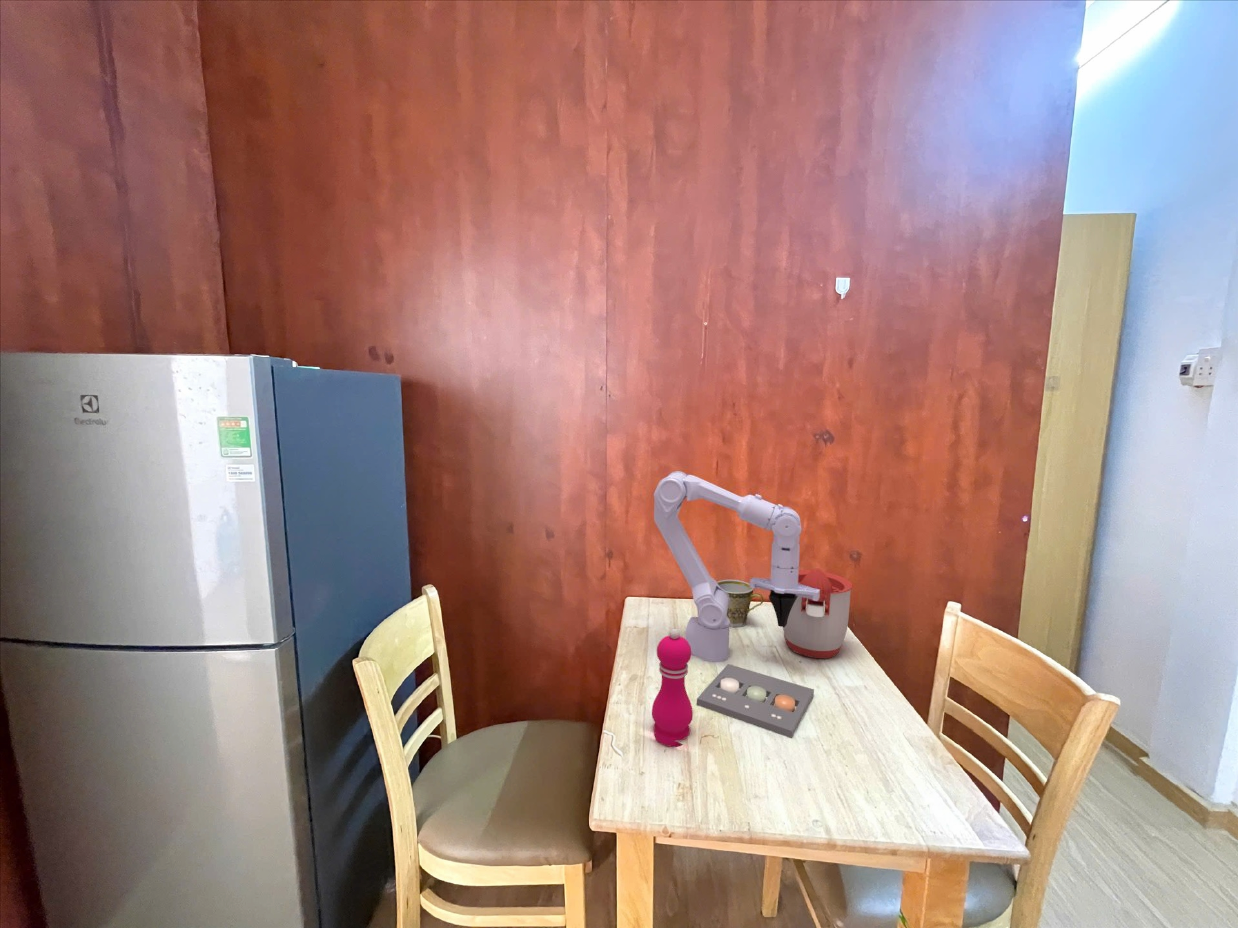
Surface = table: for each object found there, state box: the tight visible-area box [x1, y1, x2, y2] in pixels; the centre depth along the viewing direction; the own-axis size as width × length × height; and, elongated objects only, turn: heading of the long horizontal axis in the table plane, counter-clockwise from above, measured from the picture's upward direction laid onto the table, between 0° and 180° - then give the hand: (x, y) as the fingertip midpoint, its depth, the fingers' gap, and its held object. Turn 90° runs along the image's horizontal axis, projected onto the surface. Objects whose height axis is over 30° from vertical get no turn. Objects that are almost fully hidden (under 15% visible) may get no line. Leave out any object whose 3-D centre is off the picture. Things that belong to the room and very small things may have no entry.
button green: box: [746, 686, 767, 703], centre depth 106 cm, size 4×4×3 cm
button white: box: [720, 678, 740, 694], centre depth 109 cm, size 4×4×3 cm
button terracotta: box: [774, 695, 796, 712], centre depth 103 cm, size 4×4×3 cm
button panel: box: [696, 663, 815, 739], centre depth 106 cm, size 18×16×3 cm
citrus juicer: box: [782, 567, 853, 659], centre depth 128 cm, size 16×17×20 cm
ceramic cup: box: [716, 579, 764, 628], centre depth 143 cm, size 13×10×10 cm
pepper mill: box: [651, 628, 694, 748], centre depth 95 cm, size 7×7×20 cm
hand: (782, 624), depth 118 cm, fingers closed
